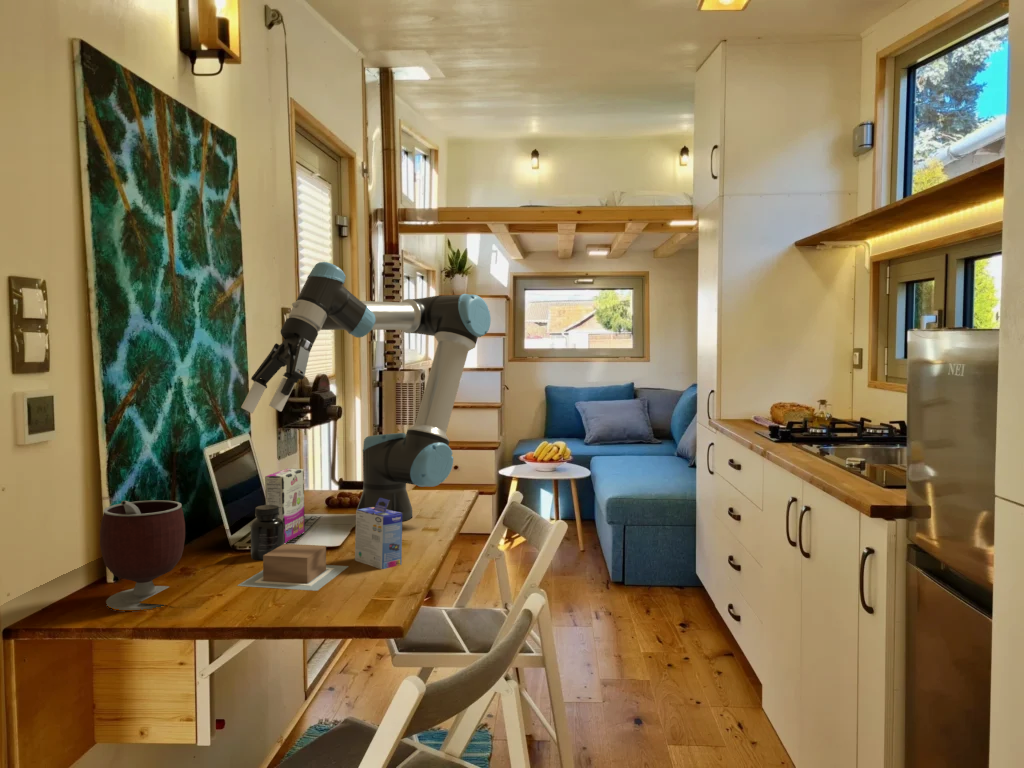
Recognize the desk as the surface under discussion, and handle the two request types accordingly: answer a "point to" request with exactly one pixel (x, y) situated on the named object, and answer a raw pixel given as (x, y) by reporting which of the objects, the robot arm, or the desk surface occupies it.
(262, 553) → the supplement bottle
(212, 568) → the desk surface
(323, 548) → the walnut block
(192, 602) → the desk surface
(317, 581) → the grey square plate
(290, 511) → the candy bar box
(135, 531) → the mate gourd
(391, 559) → the ink cartridge box
